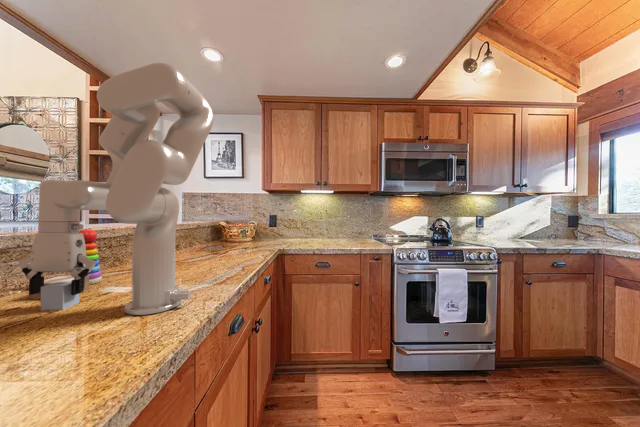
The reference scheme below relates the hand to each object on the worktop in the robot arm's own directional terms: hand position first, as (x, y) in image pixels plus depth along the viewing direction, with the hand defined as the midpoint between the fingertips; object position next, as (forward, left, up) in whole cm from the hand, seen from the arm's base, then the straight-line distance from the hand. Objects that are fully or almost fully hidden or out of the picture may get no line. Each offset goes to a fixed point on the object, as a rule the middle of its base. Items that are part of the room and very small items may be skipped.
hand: (57, 293), depth 66 cm
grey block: (-1, 0, -4) cm, 4 cm away
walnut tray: (+8, -11, -3) cm, 14 cm away
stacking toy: (+9, -22, -4) cm, 24 cm away
